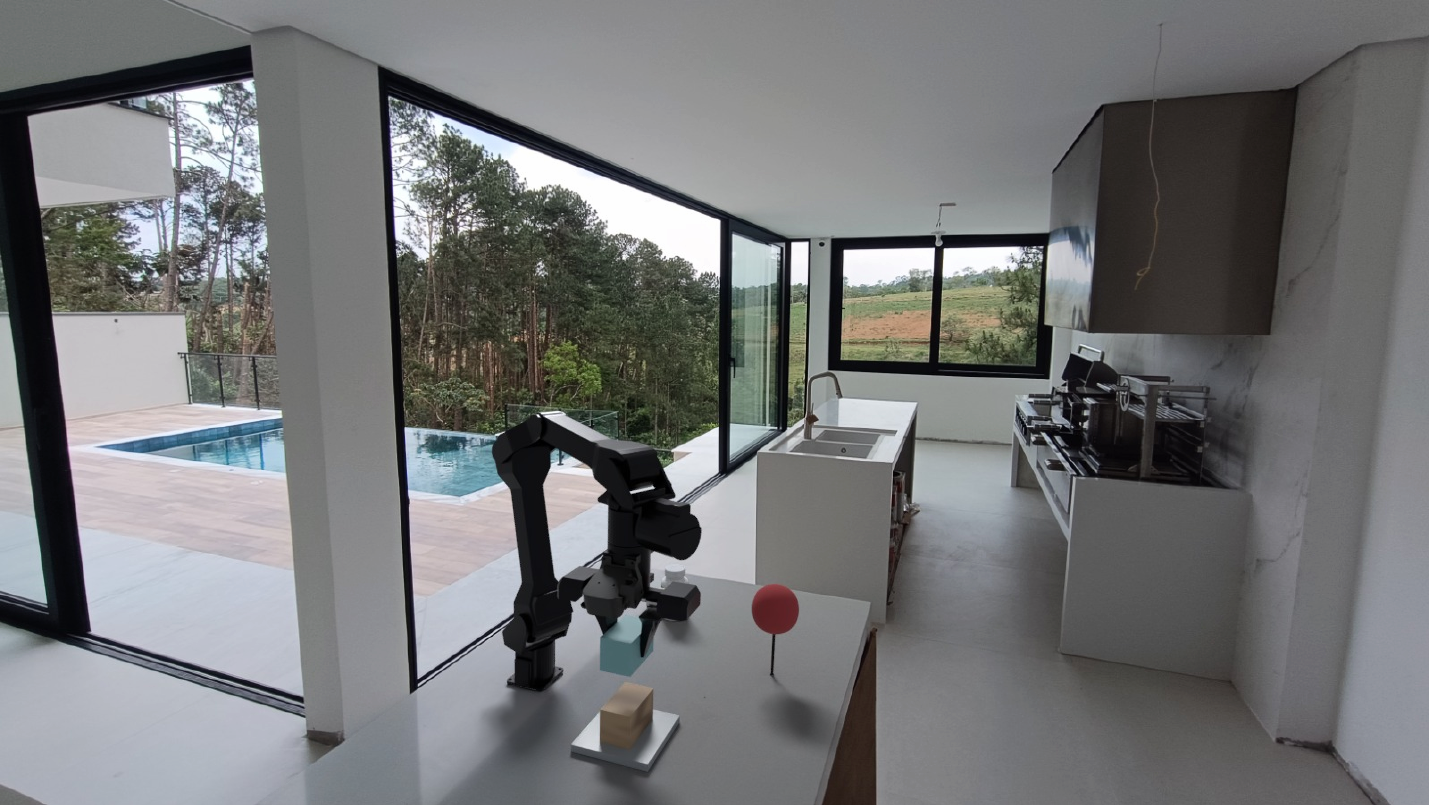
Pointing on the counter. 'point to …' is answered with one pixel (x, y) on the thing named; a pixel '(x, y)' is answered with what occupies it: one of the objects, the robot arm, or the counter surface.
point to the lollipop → (775, 611)
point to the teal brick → (622, 647)
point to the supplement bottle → (674, 576)
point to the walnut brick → (626, 715)
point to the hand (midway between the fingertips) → (627, 653)
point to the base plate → (641, 750)
